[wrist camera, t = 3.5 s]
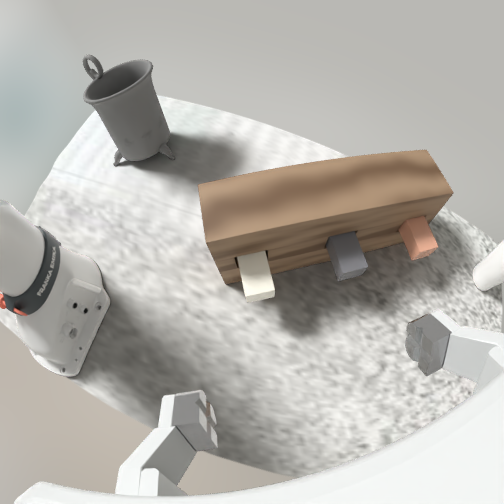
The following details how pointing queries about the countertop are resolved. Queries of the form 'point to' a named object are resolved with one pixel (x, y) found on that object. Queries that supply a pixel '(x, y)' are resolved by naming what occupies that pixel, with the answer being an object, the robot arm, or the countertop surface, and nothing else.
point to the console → (318, 208)
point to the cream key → (256, 276)
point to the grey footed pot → (129, 108)
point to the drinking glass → (490, 269)
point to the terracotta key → (418, 237)
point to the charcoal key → (346, 255)
